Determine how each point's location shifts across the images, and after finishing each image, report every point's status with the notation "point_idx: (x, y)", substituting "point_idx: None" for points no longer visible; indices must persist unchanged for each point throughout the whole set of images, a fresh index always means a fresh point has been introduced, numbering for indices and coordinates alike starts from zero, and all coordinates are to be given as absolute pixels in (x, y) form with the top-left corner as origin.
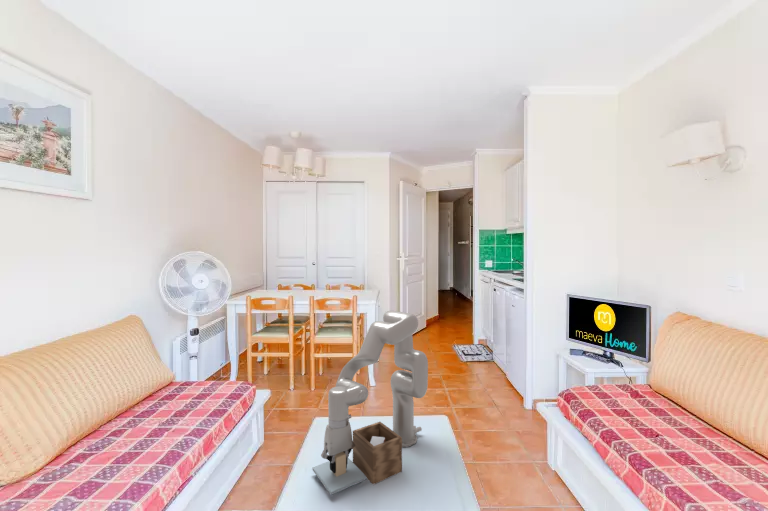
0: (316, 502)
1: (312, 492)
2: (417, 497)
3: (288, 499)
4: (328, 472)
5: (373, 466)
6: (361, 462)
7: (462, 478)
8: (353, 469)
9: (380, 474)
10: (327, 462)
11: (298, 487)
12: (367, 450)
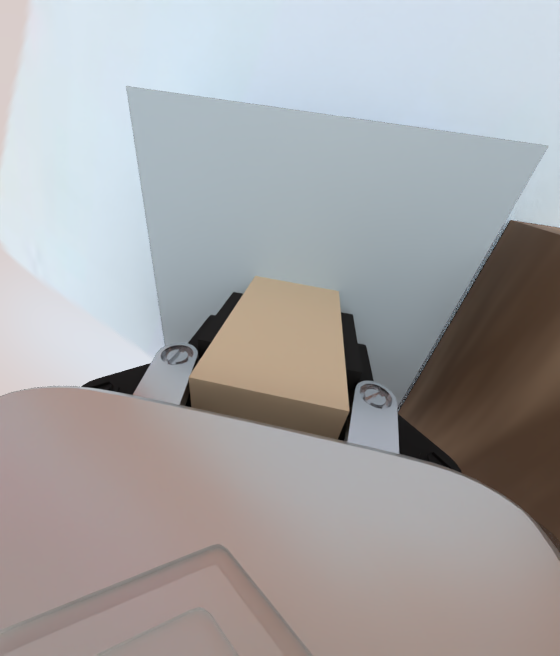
0: (135, 336)
1: (131, 271)
2: None
3: (5, 226)
4: (227, 271)
5: None
6: (472, 384)
7: None
8: (380, 367)
9: None
10: (293, 126)
11: (57, 168)
12: None
